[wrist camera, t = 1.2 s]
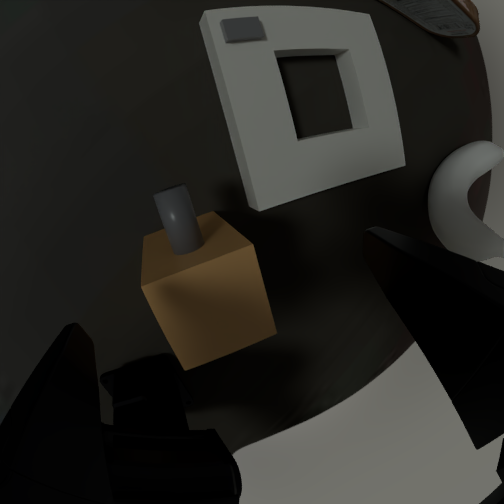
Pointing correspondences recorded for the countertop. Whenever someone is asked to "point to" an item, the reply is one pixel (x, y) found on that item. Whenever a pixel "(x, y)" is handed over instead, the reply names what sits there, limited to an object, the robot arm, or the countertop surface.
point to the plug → (203, 282)
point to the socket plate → (276, 104)
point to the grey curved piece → (463, 202)
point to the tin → (440, 16)
